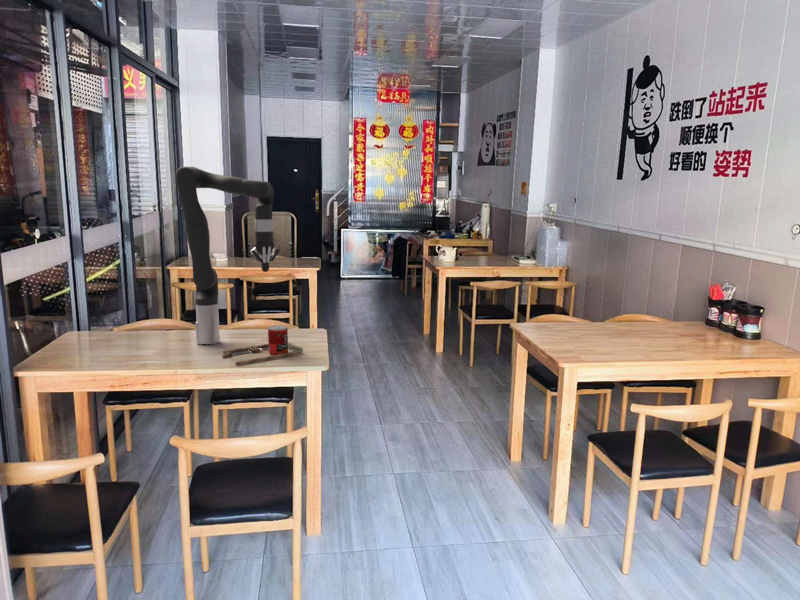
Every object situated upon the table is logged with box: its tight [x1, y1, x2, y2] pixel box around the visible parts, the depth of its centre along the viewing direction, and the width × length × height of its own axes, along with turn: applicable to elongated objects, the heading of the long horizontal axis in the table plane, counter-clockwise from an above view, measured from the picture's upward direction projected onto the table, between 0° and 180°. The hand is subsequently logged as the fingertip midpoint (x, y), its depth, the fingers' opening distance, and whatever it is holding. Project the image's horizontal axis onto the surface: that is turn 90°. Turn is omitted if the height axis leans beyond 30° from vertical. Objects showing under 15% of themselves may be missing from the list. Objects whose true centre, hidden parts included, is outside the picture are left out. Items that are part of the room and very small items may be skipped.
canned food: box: [267, 324, 289, 356], centre depth 245 cm, size 8×8×11 cm
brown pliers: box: [221, 341, 304, 367], centre depth 244 cm, size 28×20×2 cm
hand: (265, 271), depth 253 cm, fingers closed
